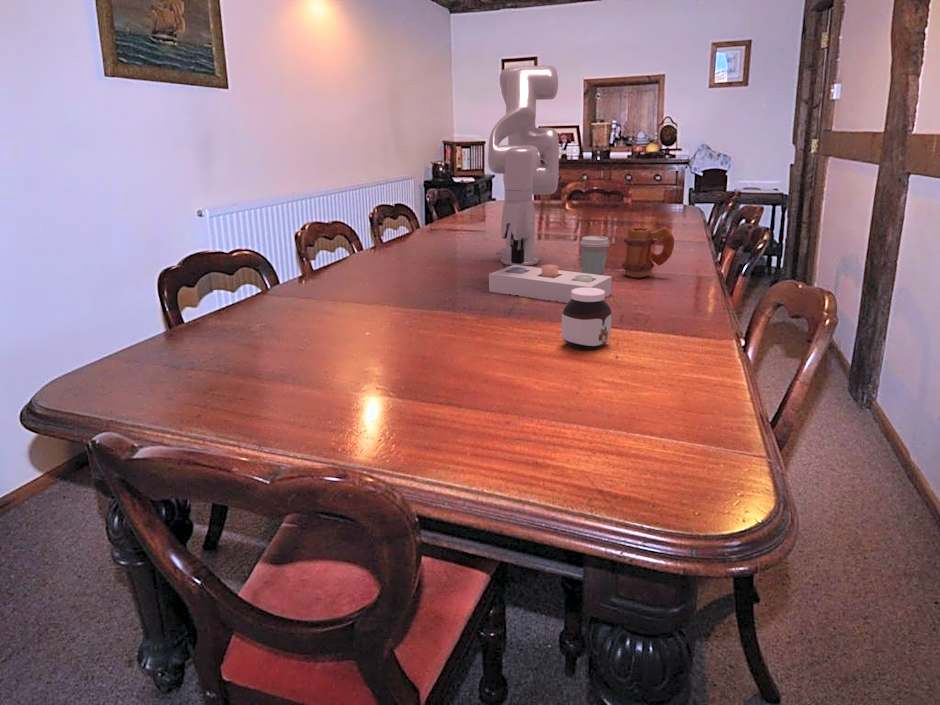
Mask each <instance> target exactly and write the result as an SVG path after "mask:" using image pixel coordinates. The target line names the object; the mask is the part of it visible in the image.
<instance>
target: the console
mask: <svg viewBox="0 0 940 705" xmlns="http://www.w3.org/2000/svg"><path fill="white" fill-rule="evenodd" d="M512 267H522V268H525V273H523V274H517V273H510V268H512ZM578 275H589V276H592V282H590V283H588V282H580V281H575V277H576V276H578ZM541 276H542V267H535V266H530V265H525V266H520V265H508V266H507V267H503V268H501V269H499V270H496V271H493V272H490V273H488V292H489V293H495V294H502V295H509V294H511V295H510V296H515V295H519V296H518V297H522V296H525V297H524V298H529V297H530V298H529V299H537V300H543V301H549V300H550V302H556V301H558V302H557V303H563V302H564V303H565V304H567V303H568V302H569V301H570V300H571V291H572V290H573V289H576V288H584V287H588V288H598V289H601V290H604V291H605V297H606V298H607V297H609V296H611V295H612V280H613V279H612V278H613V276H610V275H604V274H603V275H596V274H587V273H583V272H578V271H569V270H559V269H558V277H556V278H548V277H541ZM610 294H611V295H610Z"/></svg>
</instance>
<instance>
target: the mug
mask: <svg viewBox="0 0 940 705" xmlns="http://www.w3.org/2000/svg"><path fill="white" fill-rule="evenodd" d="M654 239H656V240H657V241H659V242H660V243H662V244H663V247H662V251H661V252H660V253H658V254H656V253H653V252H651V251H652V250H651V249H652V248H651V246H652V245H654V244H655V243H656V242H655V240H654ZM623 242H624V243H625V245H626V250H625V251H626V253H625V261H624V262H623V263H621V267H622V268H623V269H624V273H625V275H626V276H628V277H630V278H633V277H634V278H635V279H637V278H644V277H645V278H646V277H648V276H649V275H651V274H652V269H653V268H654V267H655V264H656V265H657V266H662V265H663V264H664V263H666V262H667V261H668V260H669V258H671V256H672V253H673V251H674V248H675V238H674V235H673V233H672V231H671V230H670V229H669V228H668V227H666V226H664V227H661V228H659V229H658V230H656V231H655V230H653V231H652V230H651V228H647V227H646V228H644V227H638V228H637V227H630V228H628V232H627V237H626V238H624V240H623ZM653 262H654V263H655V264H654V263H653Z"/></svg>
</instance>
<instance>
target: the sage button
mask: <svg viewBox="0 0 940 705" xmlns="http://www.w3.org/2000/svg"><path fill="white" fill-rule="evenodd" d="M575 281H580V282H588V283H590V282H592V276H589V275H578V276H576V277H575Z"/></svg>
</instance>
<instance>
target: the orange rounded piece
mask: <svg viewBox="0 0 940 705" xmlns="http://www.w3.org/2000/svg"><path fill="white" fill-rule="evenodd" d="M541 268H542V276H541V277H548V278H556V277H558V270H559V265H557V264H553V263H552V264H550V263H549V264H548V263H547V264H542V265H541Z"/></svg>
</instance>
